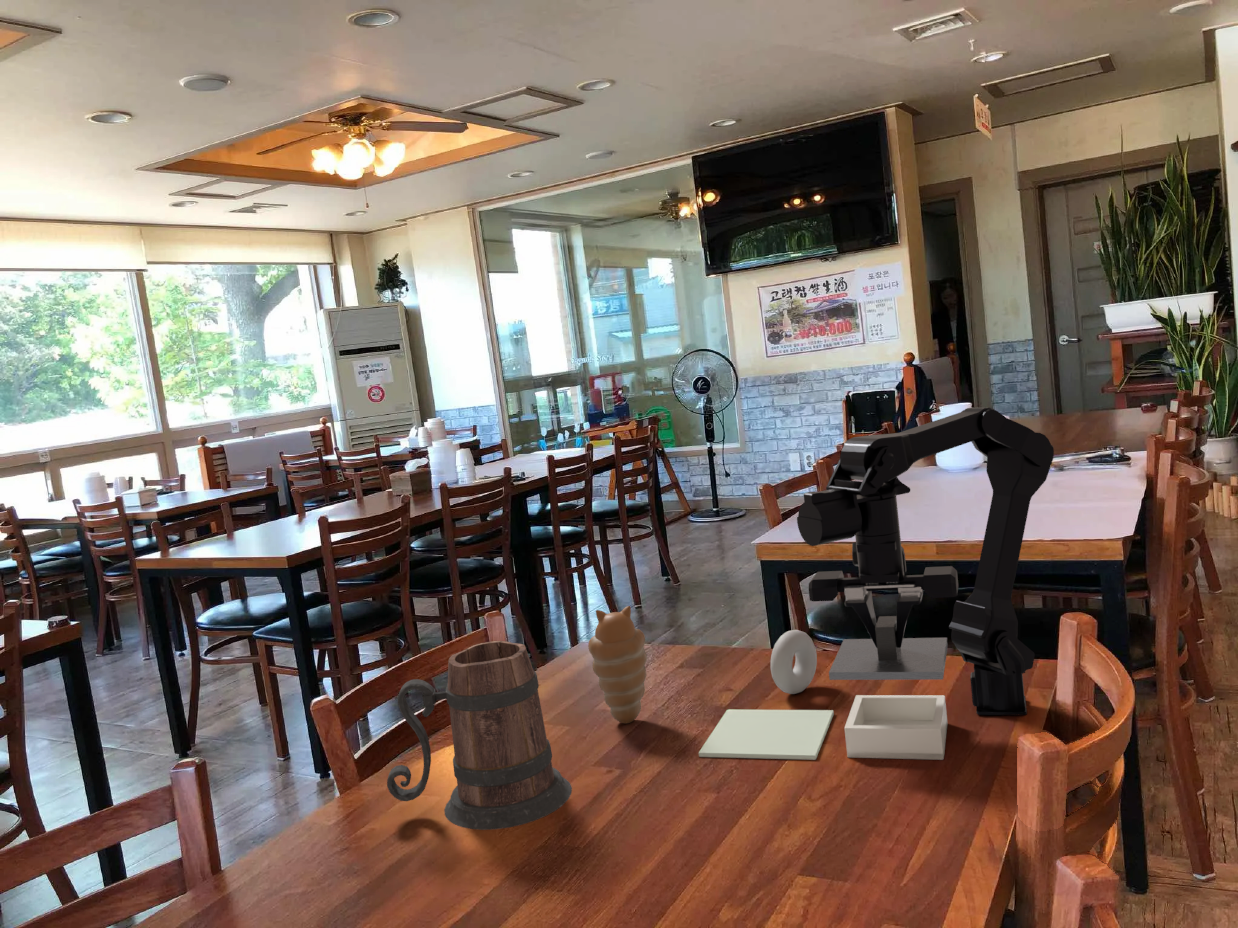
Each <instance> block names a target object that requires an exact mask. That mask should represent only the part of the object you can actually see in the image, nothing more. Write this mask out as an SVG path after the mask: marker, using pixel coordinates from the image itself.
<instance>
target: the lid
mask: <svg viewBox="0 0 1238 928" xmlns="http://www.w3.org/2000/svg"><path fill="white" fill-rule="evenodd" d="M876 621H877V623H876V626H875V632H876V641H877V648H876V646H875V644H874V642H873V640H872V638H847V639H845V638H844V639H843V640H842V642H841V645H840V646H839V649H838V651H837V654H836V656H835V658H834V660H833V663H832V664H831V666H830V669H829V671H828V678H829V681H844V680H845V681H848V680H849V681H854V680H855V681H857V680H858V681H859V680H860V681H864V680H865V681H866V680H867V681H869V680H870V681H872V680H873V681H874V680H875V681H877V680H878V681H879V680H881V681H883V680H886V681H887V680H890V681H891V680H893V681H894V680H895V681H896V680H898V681H899V680H901V681H903V680H905V681H906V680H909V681H911V680H914V681H916V680H918V681H919V680H923V681H924V680H925V681H926V680H930V681H931V680H933V681H935V680H936V681H937V680H944V675H945V668H946V662H947V661H946V660H947V654H948V645H949V644H948V637H915V638H913V637H907V638H905V637H903V640H902V645H901V648H898V645H897V638H896V625H897V615H891V616H890V615H887V616H886V615H885V616H878V618H877V620H876Z"/></svg>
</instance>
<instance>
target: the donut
mask: <svg viewBox="0 0 1238 928" xmlns="http://www.w3.org/2000/svg"><path fill="white" fill-rule="evenodd" d="M814 643H815V642H814V641H813V640H812V638H811V637H810V636H809V635H808V634H807V632H804V631H801V630H798V629H792V630H788V631H785V632H784V633H782V635H780V636H779V638H778V639H777V640H776V642H775V643H774V645H773V649H772V651H771V656H770V673H771V678H772V680H773V682H774V684H775V685H776V686H777V688H778V689H779V690H780V691H781V692H783V693H786V694H790V695H795V694H799V693H802V692H803V691H804V690H805V689H807V688H808V687H809V685H810V684H811V683H812V681H813V679H814V676H815V673H816V669H817V665H818V661H817V660H818V659H817V657H818V656H817V655H818V654H817V650H816V646H815V644H814ZM794 657H795V661H793V660H794ZM793 662H795V663H794V666H793Z"/></svg>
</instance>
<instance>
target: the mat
mask: <svg viewBox="0 0 1238 928" xmlns="http://www.w3.org/2000/svg"><path fill="white" fill-rule="evenodd" d="M834 714H835V713H834V710H833V709H831V710H830V709H730V708H729V709H726V711H725V712H724V714H722V717H721V718H720V720H719V721H718V723H717V724H716V726H715V728H714V729H713V730H712V732H711V733H710V734H709V736H708V738H707V739H706V740H705V743H704V744H703V745H702V747H701V749H700V750H699V751H698V757H699V758H726V759H727V758H729V759H731V758H732V759H736V758H738V759H767V760H771V759H772V760H775V759H776V760H803V761H804V760H808V761H809V760H811V761H816V760H817V758H818V756H819V755H818V754H819V752H820V750H821V747H822V745H823V742H824V740H825V738H826V735H827V732H828V730H829V727H830V724H831V722H832V720H833V717H834Z"/></svg>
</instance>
